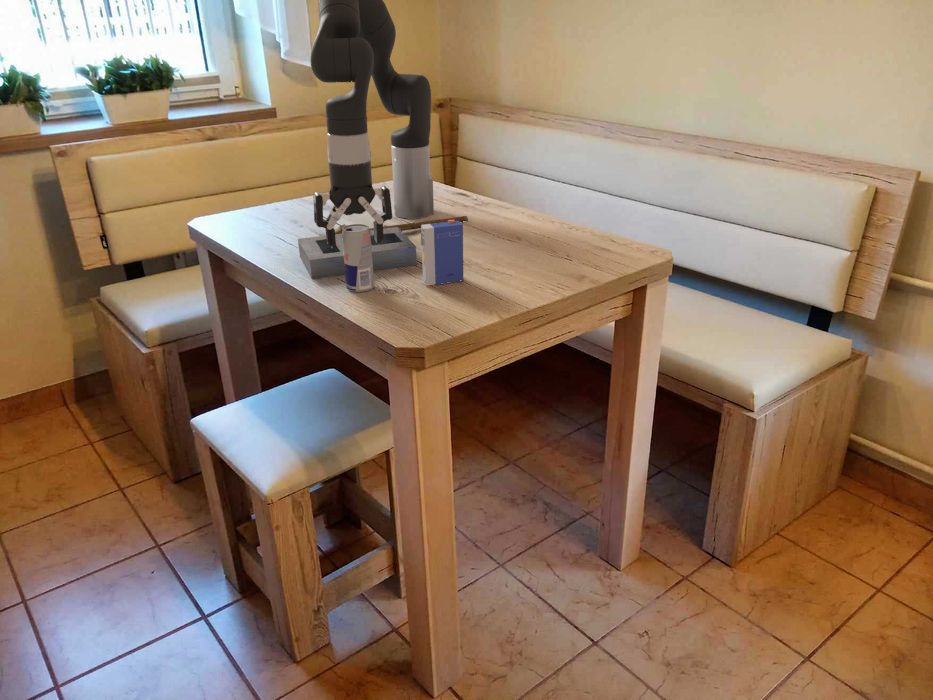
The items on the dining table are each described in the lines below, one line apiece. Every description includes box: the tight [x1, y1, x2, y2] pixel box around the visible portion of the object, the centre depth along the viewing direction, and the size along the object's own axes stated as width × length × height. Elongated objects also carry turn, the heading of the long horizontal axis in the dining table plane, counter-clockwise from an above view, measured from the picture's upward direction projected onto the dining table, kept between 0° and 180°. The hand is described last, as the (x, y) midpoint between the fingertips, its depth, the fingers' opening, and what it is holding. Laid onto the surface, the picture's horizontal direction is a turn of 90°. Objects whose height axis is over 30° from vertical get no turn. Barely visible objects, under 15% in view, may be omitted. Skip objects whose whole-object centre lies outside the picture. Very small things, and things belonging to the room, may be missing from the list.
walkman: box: [420, 220, 464, 287], centre depth 145 cm, size 8×3×12 cm, turn 110°
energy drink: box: [342, 223, 375, 293], centre depth 143 cm, size 5×5×12 cm
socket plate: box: [297, 227, 418, 280], centre depth 158 cm, size 22×14×4 cm, turn 111°
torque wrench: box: [335, 215, 469, 234], centre depth 175 cm, size 5×35×5 cm
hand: (355, 244), depth 141 cm, fingers open, 8 cm apart
